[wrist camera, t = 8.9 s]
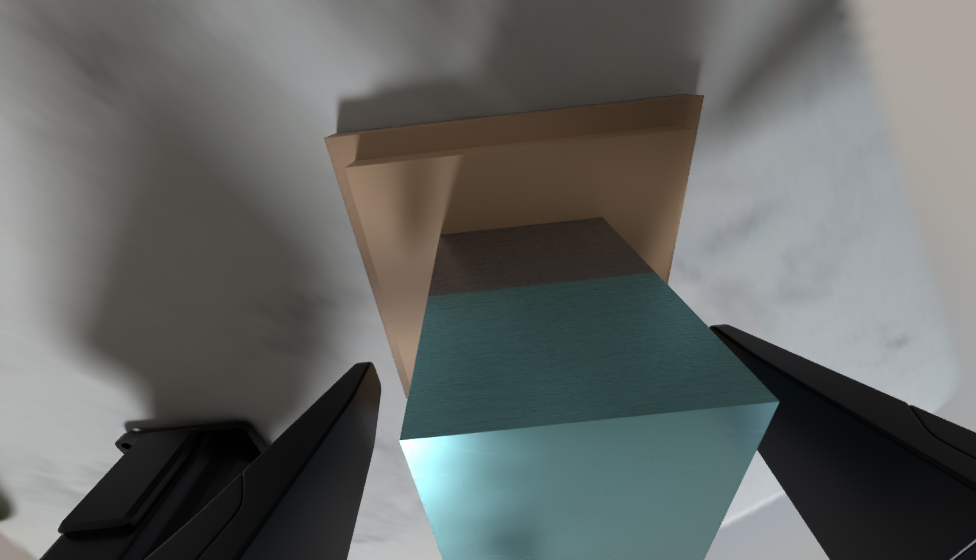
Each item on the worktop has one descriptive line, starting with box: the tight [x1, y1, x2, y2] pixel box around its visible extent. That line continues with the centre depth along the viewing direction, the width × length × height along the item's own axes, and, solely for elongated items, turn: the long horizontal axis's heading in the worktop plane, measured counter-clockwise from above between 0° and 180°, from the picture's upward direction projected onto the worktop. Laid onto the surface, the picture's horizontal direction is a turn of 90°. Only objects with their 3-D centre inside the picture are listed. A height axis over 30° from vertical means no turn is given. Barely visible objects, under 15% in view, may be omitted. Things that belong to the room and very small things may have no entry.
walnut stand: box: [324, 94, 704, 398], centre depth 13 cm, size 11×11×2 cm
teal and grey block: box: [400, 217, 780, 560], centre depth 9 cm, size 5×5×7 cm
